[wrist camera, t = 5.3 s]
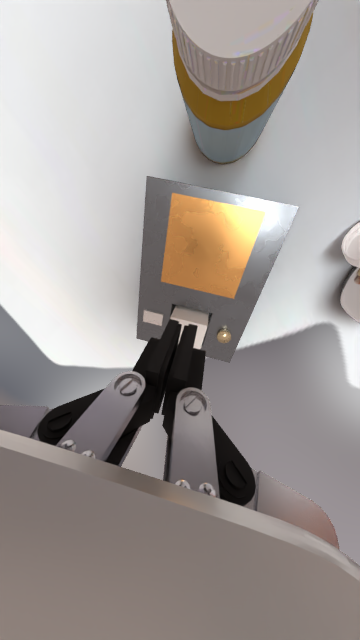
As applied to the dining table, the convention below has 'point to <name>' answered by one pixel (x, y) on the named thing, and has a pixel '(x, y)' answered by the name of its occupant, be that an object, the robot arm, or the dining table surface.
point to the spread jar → (352, 273)
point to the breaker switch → (192, 322)
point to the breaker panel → (206, 258)
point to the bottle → (235, 66)
